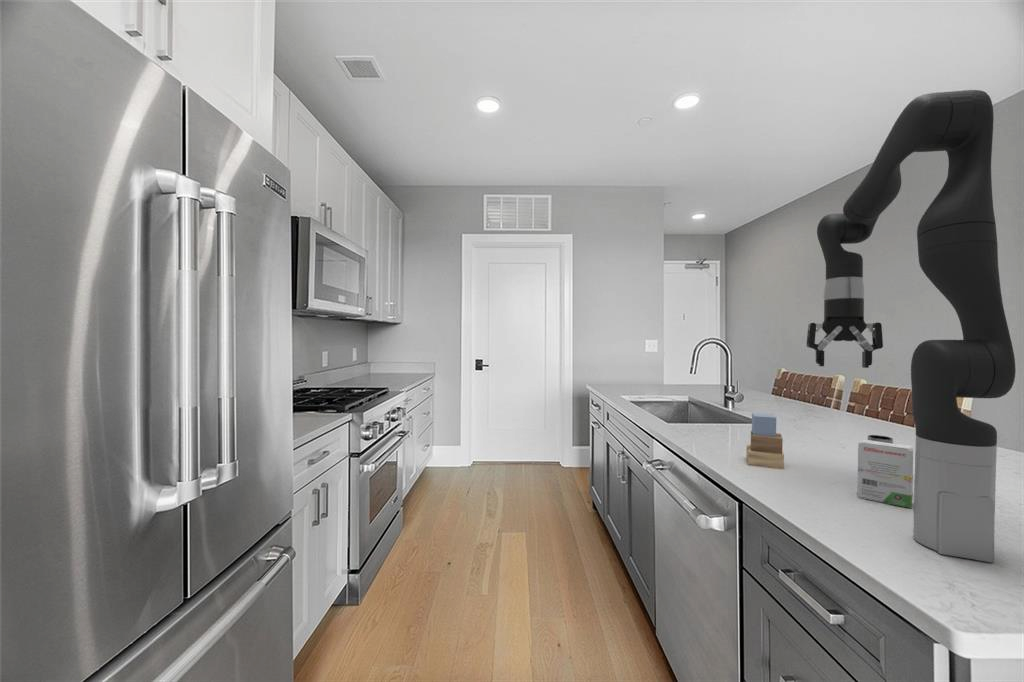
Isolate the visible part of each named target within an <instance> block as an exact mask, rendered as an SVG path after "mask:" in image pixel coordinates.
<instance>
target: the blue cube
mask: <svg viewBox="0 0 1024 682" xmlns="http://www.w3.org/2000/svg"><path fill="white" fill-rule="evenodd" d="M751 431H752V433H753V434H754V435H757V436H769V437H776V433H777V417H776V416H775V415H774V414H768V413H767V414H766V413H754V412H752V413H751Z"/></svg>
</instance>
